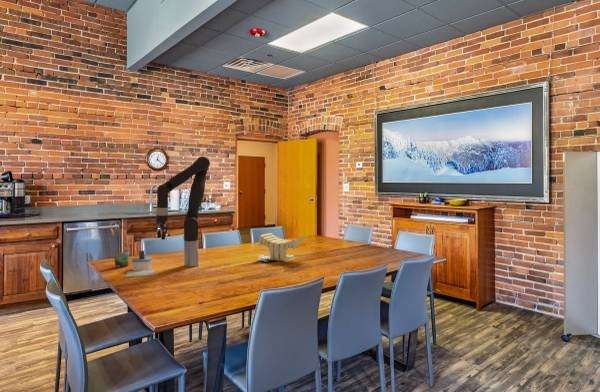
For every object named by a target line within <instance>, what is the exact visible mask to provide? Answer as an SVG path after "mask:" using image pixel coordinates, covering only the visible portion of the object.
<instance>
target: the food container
mask: <svg viewBox="0 0 600 392" xmlns="http://www.w3.org/2000/svg"><path fill="white" fill-rule="evenodd" d="M130 255H131V251H130V250H127V249H125V250H124V251H121V252H120V251H119V252H118V253H117V252H115V253H113V257H114V266H115V269H120V268H121V269H122V268H126V267H128V266H129V260H130V259H129V258H130Z"/></svg>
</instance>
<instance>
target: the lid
mask: <svg viewBox="0 0 600 392" xmlns="http://www.w3.org/2000/svg"><path fill="white" fill-rule="evenodd" d="M138 255H139V256H138V257H133V258H131V262H132V263H133V262H147V261H151V262H152V260H153V257H152V256H145V250H139V251H138Z"/></svg>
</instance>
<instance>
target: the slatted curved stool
mask: <svg viewBox="0 0 600 392" xmlns="http://www.w3.org/2000/svg"><path fill="white" fill-rule="evenodd" d="M305 240H306V235H303V236H300V237H296V238H293V239H291V240H290V239H283V238H281V237H279V236H276V235H275V234H273V233H272V232H268V233H263V234H261V235H260V236H259V238H258V246H265V247H267V248H268V251H269V259H270V260H271V261H278V262H285V263H287V262H290V261H292V260H295V259H296V257H295V255H292V254H291V255H290V254H287V251H288V249H293V250H297V249H299V247H298V246H299V244H300V243H301V242H302V241H305Z"/></svg>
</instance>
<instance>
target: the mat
mask: <svg viewBox="0 0 600 392" xmlns="http://www.w3.org/2000/svg"><path fill="white" fill-rule="evenodd" d="M155 273H156V270H155V269H150V270H147V271H133V270H132V271H127V273H126V274H125V275H124V278H135V277H136V278H139V277H140V278H141V277H153V276H154V274H155Z"/></svg>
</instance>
